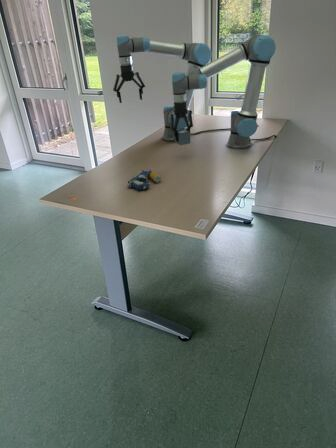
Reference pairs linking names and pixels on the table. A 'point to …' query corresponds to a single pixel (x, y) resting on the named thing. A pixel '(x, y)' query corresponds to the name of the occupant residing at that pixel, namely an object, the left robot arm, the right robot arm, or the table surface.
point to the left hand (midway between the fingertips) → (130, 101)
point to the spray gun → (143, 179)
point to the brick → (183, 136)
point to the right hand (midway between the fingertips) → (182, 140)
